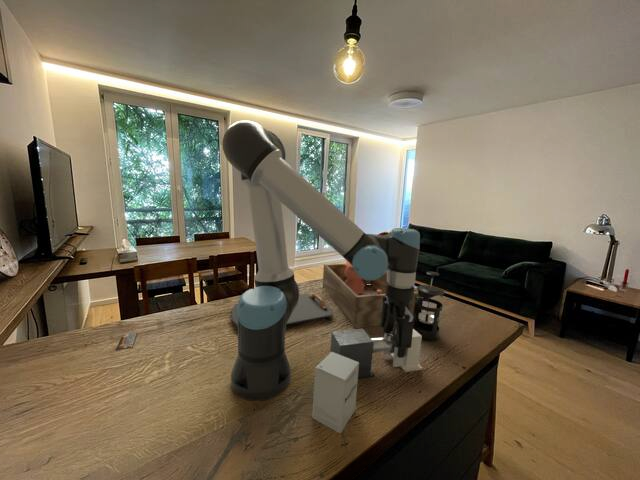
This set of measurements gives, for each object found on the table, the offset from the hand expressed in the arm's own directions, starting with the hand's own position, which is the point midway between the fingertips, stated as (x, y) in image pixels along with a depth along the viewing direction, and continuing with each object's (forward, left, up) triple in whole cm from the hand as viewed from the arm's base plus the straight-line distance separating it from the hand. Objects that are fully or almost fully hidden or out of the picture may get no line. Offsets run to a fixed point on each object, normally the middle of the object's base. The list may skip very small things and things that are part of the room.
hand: (392, 359), depth 80 cm
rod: (-3, 0, +3) cm, 4 cm away
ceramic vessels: (+11, +40, -2) cm, 41 cm away
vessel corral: (+10, +42, -1) cm, 43 cm away
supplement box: (-23, -14, -1) cm, 27 cm away
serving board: (-27, +36, -2) cm, 45 cm away
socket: (+4, 0, -1) cm, 5 cm away
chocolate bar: (-77, +27, -2) cm, 81 cm away
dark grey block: (-13, 0, -1) cm, 13 cm away
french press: (+20, +13, -1) cm, 24 cm away
